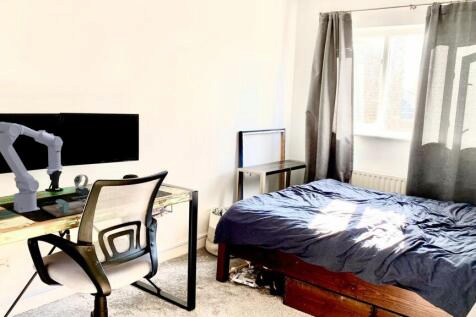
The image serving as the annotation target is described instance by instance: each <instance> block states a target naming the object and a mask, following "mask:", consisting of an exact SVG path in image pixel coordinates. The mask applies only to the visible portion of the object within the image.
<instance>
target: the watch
mask: <svg viewBox="0 0 476 317" xmlns="http://www.w3.org/2000/svg"><path fill="white" fill-rule="evenodd" d="M83 177H84V179H85V180H84V182H83ZM73 182H74V186H75V189H74V190H75V194H76V195H79V196H80V195H81V196H85V195H88V194H89V188H88V187H87V186H88V185H89V184H88V183H89V177H88V176H87V175H86V174H82V173H80V174H78V175H76V176H75V177H74V179H73ZM82 182H83V185H82V186H79V185H80V183H82Z"/></svg>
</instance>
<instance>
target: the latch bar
mask: <svg viewBox="0 0 476 317" xmlns="http://www.w3.org/2000/svg"><path fill="white" fill-rule="evenodd" d="M81 200H82V201H81ZM81 200H78V201H79V202H75V201H73V202H74V203H69V202H68V203H69V209H73V208H78V207H83V206H84V205H85V202H86V201H87V199H86V198H82V199H81ZM56 210H57V211H62V205H59V206H56Z"/></svg>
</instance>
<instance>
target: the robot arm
mask: <svg viewBox="0 0 476 317" xmlns="http://www.w3.org/2000/svg"><path fill="white" fill-rule="evenodd" d="M19 135H25V136H28V137H31V138H33V139H34V141H35V142H38V143H40V144H43V145H45V146H46V147H47V151H48V152H47V153H48V166H47V167H46V174H47V175H48V176H49V178H50V181H51V183H52V186H58V185H59V181H60V177H61V174H62V173H63V170H62V169H63V165H62V164H61V163H62V162H61V159H62V158H61V150H62V147H63V143H64V142H63V140H62V138H61V137H60V136H56V135H54V133H48V132H46V130H45V129H44V130H43V129H42V130H41V129H40V130H38V131H36V130H34V129H33V128H32V129H31V128H29V127H27V126H25V125H22V124H18V123H14V122H13V123H12V122H5V121H0V153H1V155H2V156H3V158H4V160H5V161H6V163H7V165H8V166H9V168H10V169H11V171H12V173H13V175H14V176H15V177H14V182H15V187H16V188H17V189H18V192H17V193H14V195H13V210H14V211H15V212H17V213H19V214H21V213H27V212H32V211H39V210H41V208H40V207H38V206H37V191H38V190H39V188H40V183H39V180H38V179H35V177H34V176H33V175H32V174H30V173H29V172H28V170H27V168H26V167H25V165H24V164H23V162H22V160H21V158H20V156H19V155H18V153H17V152H16V150H15V148H14V146H13V143H14V142H16V139H17V138H18V137H19Z"/></svg>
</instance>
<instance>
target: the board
mask: <svg viewBox="0 0 476 317" xmlns="http://www.w3.org/2000/svg"><path fill="white" fill-rule="evenodd" d="M79 201H82V199H80V200H77V201H70V202H68V203H74V202H79ZM59 205H60V204H58V203H57V204H53V205H52V204H51V205H47V206H42V207H41V208H42V210H44V211H45V212H47V213H50V214H51V215H53V216H54V217H56V218H58V217H65V216H69V215H74V214H81V213H83V212H82V211H83V207H84V206H83V207H78V208H73V209H69V212H68V213H63V212H62V211H57V210H56V206H59Z"/></svg>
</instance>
